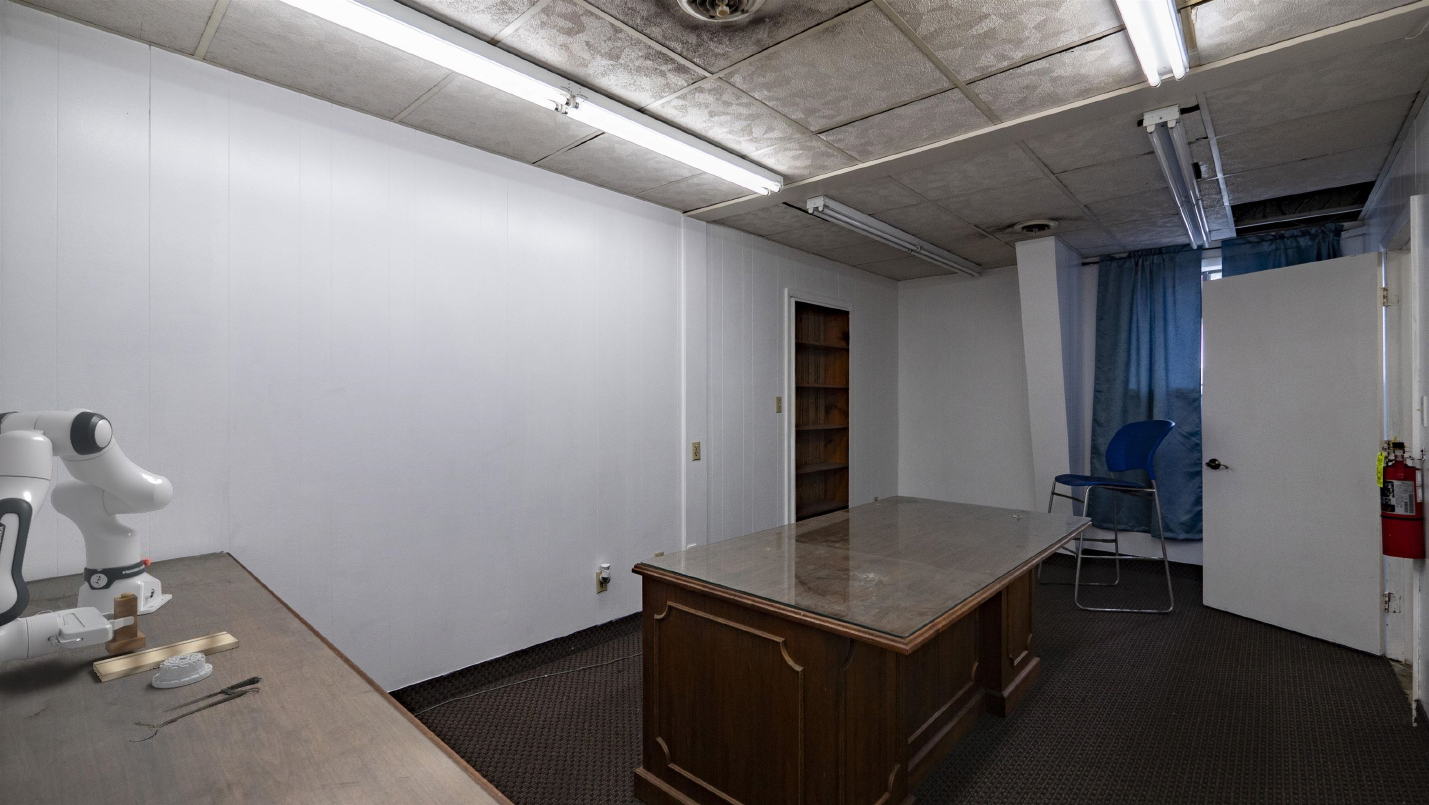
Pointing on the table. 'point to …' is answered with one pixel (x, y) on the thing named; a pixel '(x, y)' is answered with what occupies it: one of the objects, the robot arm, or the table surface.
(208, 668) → the mechanical component
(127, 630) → the wooden peg post
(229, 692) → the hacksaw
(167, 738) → the table surface
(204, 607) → the table surface
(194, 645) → the plank
